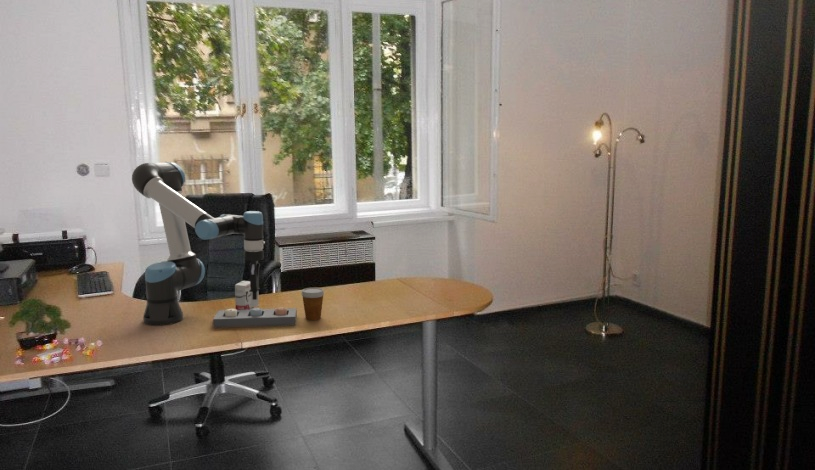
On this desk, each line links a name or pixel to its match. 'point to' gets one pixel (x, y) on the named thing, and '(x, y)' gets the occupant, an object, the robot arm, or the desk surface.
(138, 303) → the desk surface
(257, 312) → the slate button
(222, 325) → the button panel
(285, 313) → the pink rounded piece
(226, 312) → the cream button
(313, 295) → the disposable coffee cup
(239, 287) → the ink box
